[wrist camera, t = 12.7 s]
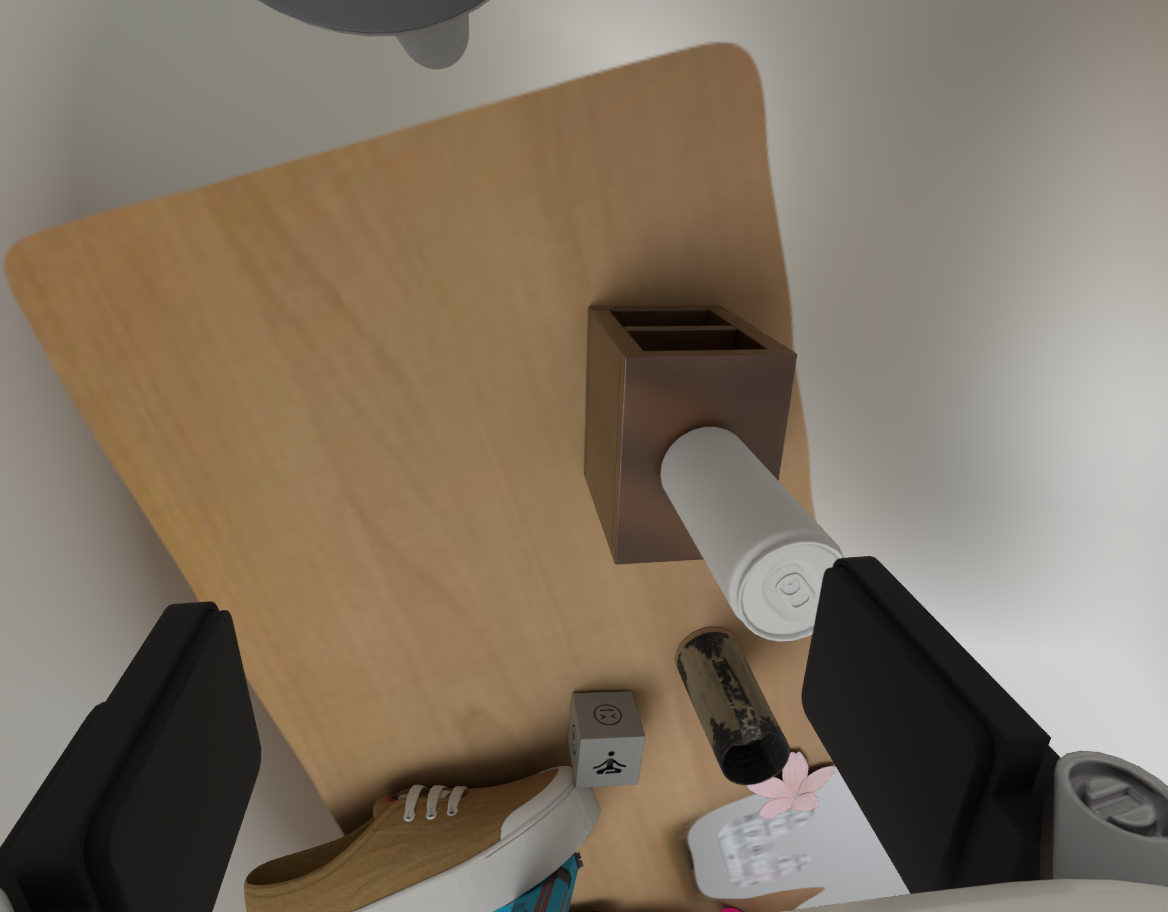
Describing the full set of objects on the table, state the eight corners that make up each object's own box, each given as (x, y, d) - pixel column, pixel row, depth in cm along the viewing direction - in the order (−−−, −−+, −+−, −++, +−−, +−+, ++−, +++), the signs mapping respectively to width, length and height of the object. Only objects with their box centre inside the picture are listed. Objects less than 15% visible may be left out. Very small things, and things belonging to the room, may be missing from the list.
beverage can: (716, 404, 36) (821, 514, 26) (760, 470, 38) (875, 597, 28) (640, 458, 37) (711, 588, 26) (687, 520, 39) (772, 665, 28)
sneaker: (608, 857, 51) (549, 729, 52) (249, 1035, 51) (197, 902, 52) (609, 804, 61) (559, 697, 62) (309, 953, 61) (264, 842, 62)
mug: (745, 669, 60) (806, 785, 49) (683, 690, 60) (731, 811, 49) (726, 597, 57) (787, 704, 46) (661, 619, 56) (707, 731, 46)
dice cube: (567, 739, 60) (575, 788, 55) (572, 693, 58) (581, 739, 53) (625, 736, 61) (637, 784, 56) (631, 690, 59) (645, 736, 54)
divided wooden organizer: (588, 306, 46) (624, 356, 35) (721, 305, 47) (797, 353, 36) (583, 474, 50) (614, 565, 39) (705, 469, 52) (767, 555, 41)
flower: (722, 828, 65) (717, 814, 67) (811, 844, 68) (804, 830, 69) (773, 750, 62) (767, 737, 63) (863, 770, 65) (855, 757, 66)
